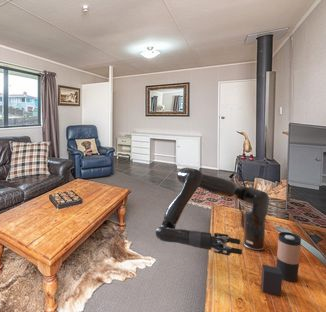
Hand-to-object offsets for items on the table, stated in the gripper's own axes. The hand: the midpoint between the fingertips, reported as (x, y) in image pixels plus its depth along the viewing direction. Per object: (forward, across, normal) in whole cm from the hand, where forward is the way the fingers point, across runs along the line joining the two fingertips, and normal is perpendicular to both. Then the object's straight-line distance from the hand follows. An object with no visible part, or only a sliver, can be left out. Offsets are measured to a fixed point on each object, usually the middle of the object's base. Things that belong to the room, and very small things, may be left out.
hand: (241, 246), depth 100 cm
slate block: (+11, 0, +18) cm, 21 cm away
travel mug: (+19, +13, +18) cm, 29 cm away
